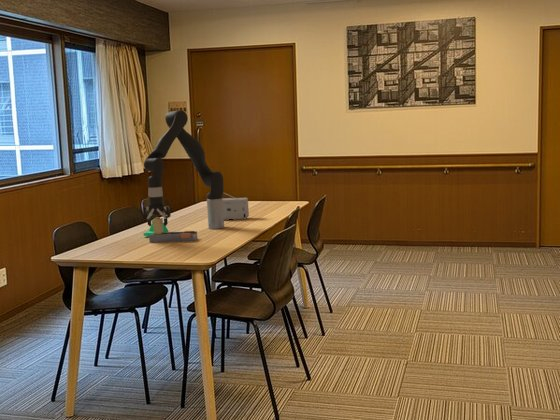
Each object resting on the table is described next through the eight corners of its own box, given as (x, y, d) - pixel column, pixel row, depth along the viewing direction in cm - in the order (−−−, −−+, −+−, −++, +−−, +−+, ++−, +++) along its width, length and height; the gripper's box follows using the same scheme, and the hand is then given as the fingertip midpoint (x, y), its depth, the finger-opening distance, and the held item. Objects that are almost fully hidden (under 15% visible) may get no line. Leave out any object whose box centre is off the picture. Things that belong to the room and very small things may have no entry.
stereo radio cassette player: (249, 217, 428) (247, 186, 426) (247, 219, 420) (245, 187, 417) (216, 218, 430) (214, 187, 428) (214, 220, 422) (212, 189, 420)
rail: (154, 239, 365) (154, 231, 365) (197, 238, 361) (196, 230, 361) (149, 242, 357) (148, 234, 357) (193, 241, 353) (192, 233, 353)
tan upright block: (156, 236, 363) (155, 217, 361) (163, 236, 362) (162, 216, 361) (154, 237, 359) (152, 218, 357) (161, 237, 358) (159, 218, 357)
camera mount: (142, 237, 374) (141, 219, 373) (150, 235, 382) (148, 217, 380) (161, 238, 370) (160, 219, 369) (168, 235, 377) (167, 217, 376)
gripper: (170, 194, 360) (172, 224, 362) (145, 195, 362) (147, 224, 364) (166, 196, 352) (168, 226, 355) (140, 196, 355) (142, 227, 357)
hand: (157, 225), depth 359 cm, fingers open, 8 cm apart
